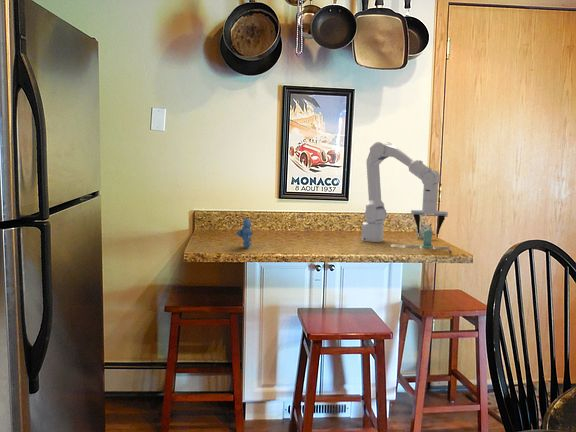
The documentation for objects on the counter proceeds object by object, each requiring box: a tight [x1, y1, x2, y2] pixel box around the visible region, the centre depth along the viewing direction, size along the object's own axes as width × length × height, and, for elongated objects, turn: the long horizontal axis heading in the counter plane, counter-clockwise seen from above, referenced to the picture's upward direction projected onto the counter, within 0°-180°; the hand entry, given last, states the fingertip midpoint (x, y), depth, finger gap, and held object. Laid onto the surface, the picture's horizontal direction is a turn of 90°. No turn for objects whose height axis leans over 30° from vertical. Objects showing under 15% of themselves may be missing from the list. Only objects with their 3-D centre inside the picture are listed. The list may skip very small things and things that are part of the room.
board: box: [390, 244, 452, 254], centre depth 221 cm, size 24×10×1 cm, turn 79°
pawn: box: [420, 229, 434, 250], centre depth 220 cm, size 5×5×8 cm
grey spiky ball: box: [413, 221, 436, 240], centre depth 242 cm, size 9×8×10 cm
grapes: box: [236, 217, 254, 249], centre depth 218 cm, size 12×7×12 cm, turn 6°
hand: (428, 233), depth 220 cm, fingers open, 7 cm apart
